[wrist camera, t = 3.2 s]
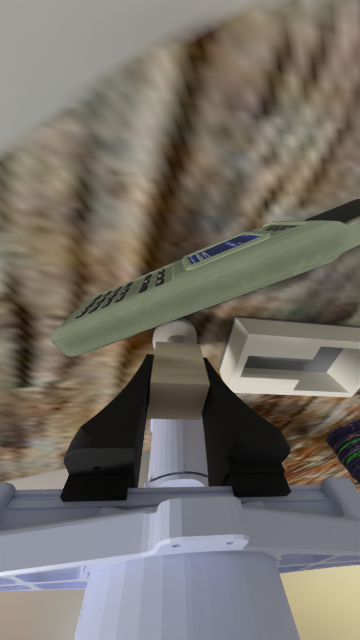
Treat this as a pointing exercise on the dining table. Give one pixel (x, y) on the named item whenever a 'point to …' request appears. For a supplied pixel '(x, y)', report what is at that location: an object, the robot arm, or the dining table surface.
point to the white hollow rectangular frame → (291, 358)
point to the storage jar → (347, 446)
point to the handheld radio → (209, 278)
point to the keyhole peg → (177, 373)
